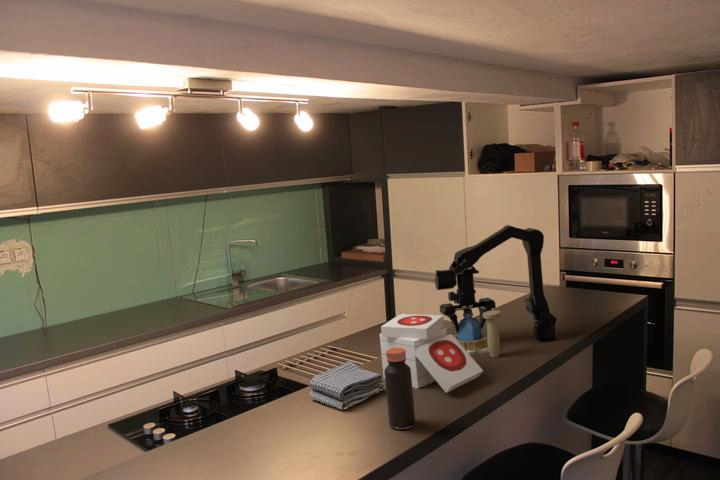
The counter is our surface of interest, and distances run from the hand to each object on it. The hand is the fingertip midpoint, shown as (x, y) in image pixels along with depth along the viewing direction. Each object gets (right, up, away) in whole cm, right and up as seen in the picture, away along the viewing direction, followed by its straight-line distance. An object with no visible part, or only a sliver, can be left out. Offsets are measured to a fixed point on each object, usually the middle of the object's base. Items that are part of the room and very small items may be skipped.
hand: (469, 330), depth 212 cm
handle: (+6, -7, -10) cm, 14 cm away
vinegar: (-27, -17, -55) cm, 63 cm away
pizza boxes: (-17, -12, -25) cm, 33 cm away
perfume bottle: (0, -5, +1) cm, 5 cm away
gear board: (0, -6, +1) cm, 6 cm away
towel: (-42, -15, -32) cm, 55 cm away
